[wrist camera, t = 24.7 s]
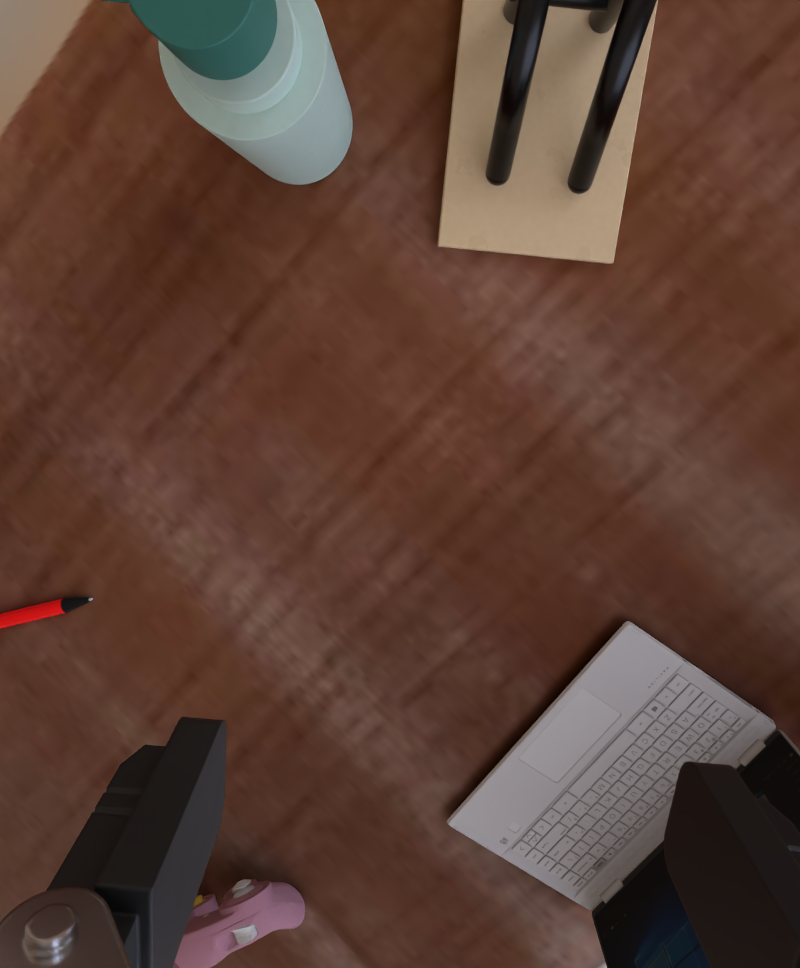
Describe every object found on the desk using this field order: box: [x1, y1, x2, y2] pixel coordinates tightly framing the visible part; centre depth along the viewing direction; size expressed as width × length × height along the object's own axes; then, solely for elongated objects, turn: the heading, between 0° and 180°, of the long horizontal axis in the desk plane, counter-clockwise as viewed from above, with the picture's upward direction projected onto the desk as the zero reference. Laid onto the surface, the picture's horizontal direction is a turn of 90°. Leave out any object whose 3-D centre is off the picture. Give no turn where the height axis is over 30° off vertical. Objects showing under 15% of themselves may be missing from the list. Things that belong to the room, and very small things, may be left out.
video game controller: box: [172, 879, 305, 968], centre depth 46 cm, size 10×5×7 cm, turn 115°
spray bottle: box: [103, 0, 353, 185], centre depth 27 cm, size 16×6×16 cm
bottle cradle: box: [437, 0, 658, 264], centre depth 30 cm, size 13×9×9 cm
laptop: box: [447, 621, 800, 968], centre depth 39 cm, size 18×12×13 cm
